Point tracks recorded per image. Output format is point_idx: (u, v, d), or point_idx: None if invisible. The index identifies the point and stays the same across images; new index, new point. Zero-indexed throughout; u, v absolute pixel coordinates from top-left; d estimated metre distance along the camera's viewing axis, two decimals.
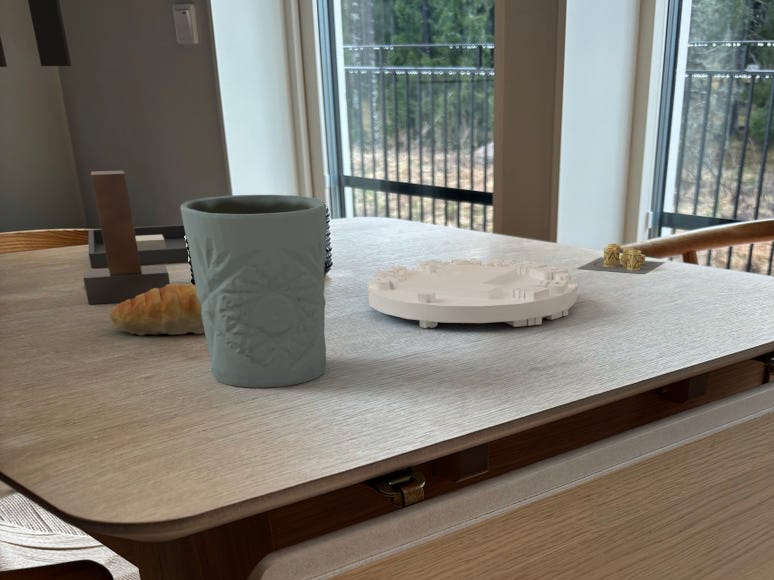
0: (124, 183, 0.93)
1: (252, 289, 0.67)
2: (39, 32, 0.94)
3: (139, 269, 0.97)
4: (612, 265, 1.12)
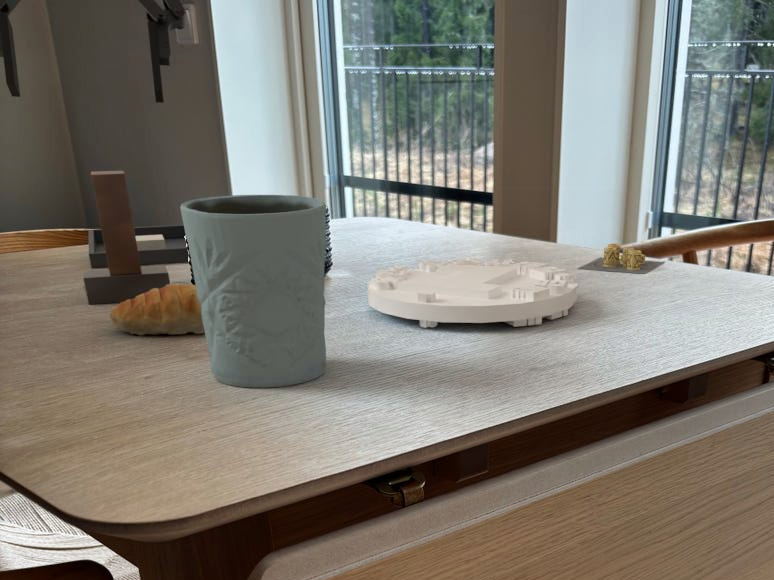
0: (124, 183, 0.93)
1: (252, 289, 0.67)
2: None
3: (139, 269, 0.97)
4: (612, 265, 1.12)
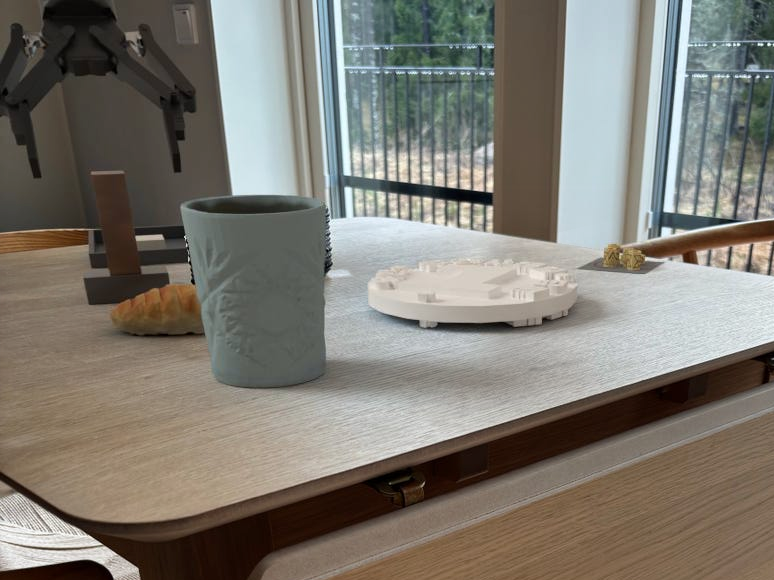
0: (124, 183, 0.93)
1: (252, 289, 0.67)
2: (169, 146, 1.02)
3: (139, 269, 0.97)
4: (612, 265, 1.12)
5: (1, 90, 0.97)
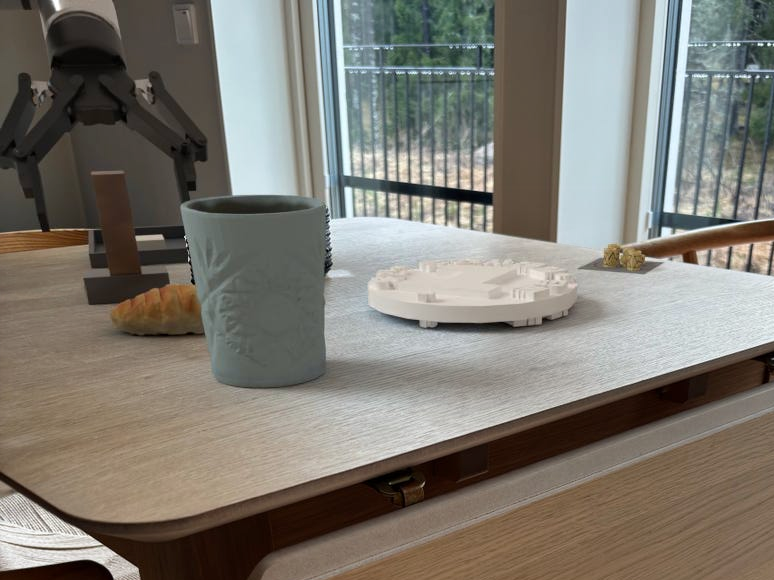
0: (124, 183, 0.93)
1: (252, 289, 0.67)
2: (180, 197, 0.99)
3: (139, 269, 0.97)
4: (612, 265, 1.12)
5: (9, 142, 0.94)
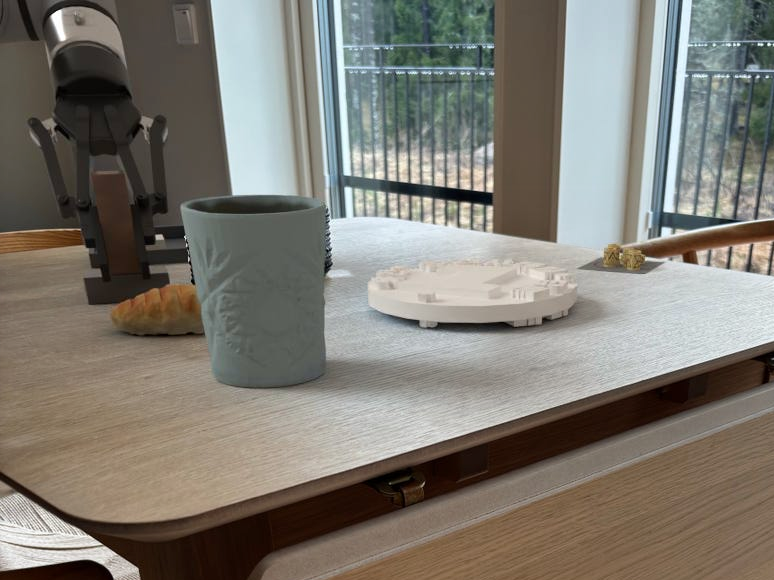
0: (124, 183, 0.93)
1: (252, 289, 0.67)
2: None
3: (139, 269, 0.97)
4: (612, 265, 1.12)
5: None
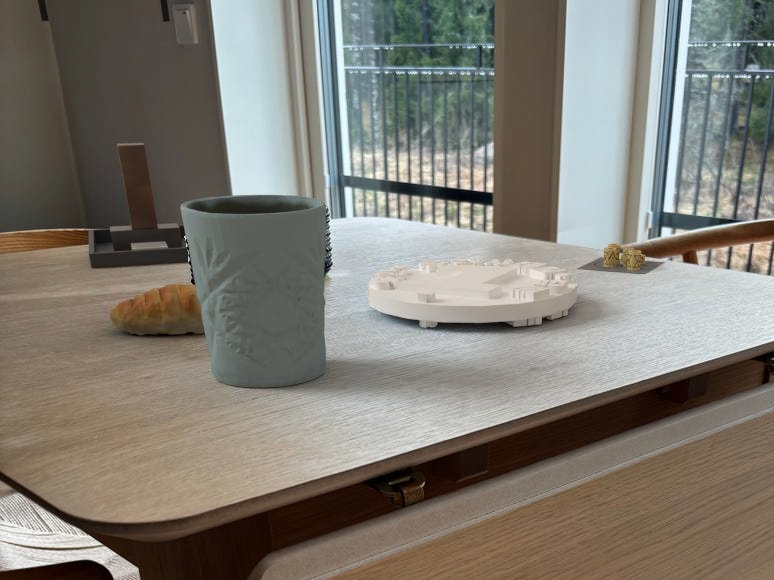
0: (144, 153, 1.14)
1: (252, 289, 0.67)
2: None
3: (156, 224, 1.17)
4: (612, 265, 1.12)
5: None
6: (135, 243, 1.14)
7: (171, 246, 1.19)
